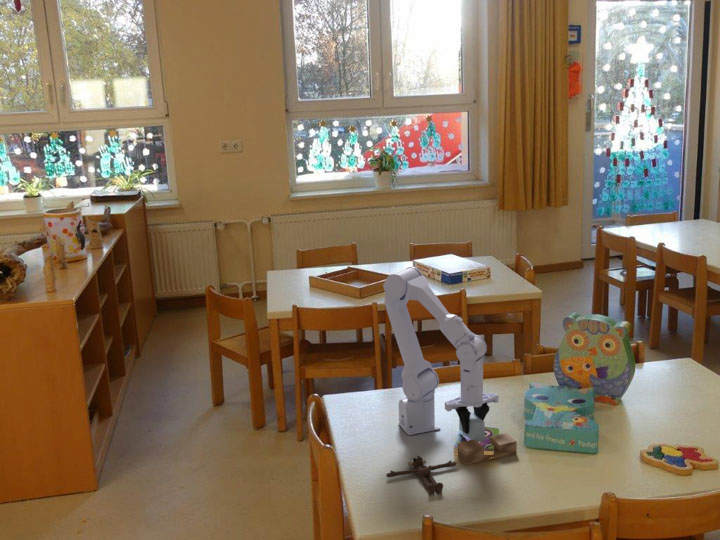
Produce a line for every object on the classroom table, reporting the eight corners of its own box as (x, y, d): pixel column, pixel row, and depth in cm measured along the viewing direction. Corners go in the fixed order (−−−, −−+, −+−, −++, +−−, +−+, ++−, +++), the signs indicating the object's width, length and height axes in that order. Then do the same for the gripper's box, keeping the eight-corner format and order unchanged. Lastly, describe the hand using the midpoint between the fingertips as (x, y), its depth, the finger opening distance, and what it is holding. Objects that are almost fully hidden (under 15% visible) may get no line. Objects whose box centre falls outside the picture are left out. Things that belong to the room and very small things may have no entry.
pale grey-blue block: (474, 449, 194) (474, 424, 193) (459, 434, 203) (459, 410, 201) (484, 447, 195) (484, 422, 193) (468, 432, 204) (468, 408, 202)
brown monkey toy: (398, 491, 171) (380, 455, 184) (398, 506, 172) (380, 470, 186) (472, 477, 175) (449, 444, 189) (472, 493, 177) (449, 459, 190)
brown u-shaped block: (466, 464, 187) (466, 451, 186) (457, 455, 191) (457, 442, 190) (516, 453, 191) (516, 441, 190) (506, 445, 195) (506, 432, 195)
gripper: (452, 393, 189) (453, 442, 192) (504, 384, 193) (503, 432, 197) (441, 382, 196) (441, 431, 199) (491, 374, 200) (491, 421, 203)
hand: (471, 431), depth 198 cm, fingers open, 3 cm apart
